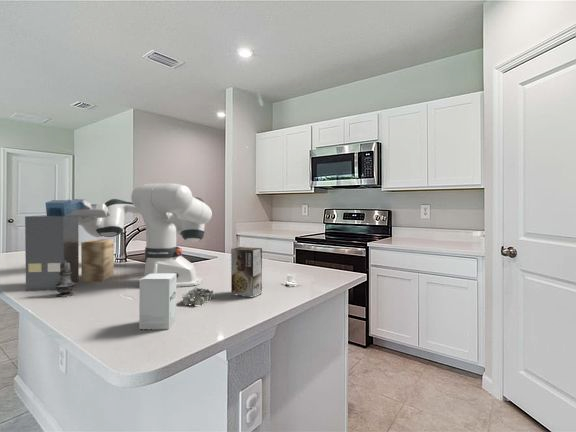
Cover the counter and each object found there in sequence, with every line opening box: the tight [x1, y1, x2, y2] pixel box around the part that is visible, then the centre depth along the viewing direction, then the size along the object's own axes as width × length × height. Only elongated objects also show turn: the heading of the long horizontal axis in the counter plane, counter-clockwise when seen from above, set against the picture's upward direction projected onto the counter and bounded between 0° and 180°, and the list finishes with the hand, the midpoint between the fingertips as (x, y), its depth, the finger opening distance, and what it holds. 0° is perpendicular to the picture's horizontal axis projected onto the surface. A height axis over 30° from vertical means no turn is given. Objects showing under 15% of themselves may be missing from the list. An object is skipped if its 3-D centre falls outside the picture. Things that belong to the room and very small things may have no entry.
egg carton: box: [181, 286, 214, 306], centre depth 105 cm, size 10×7×4 cm
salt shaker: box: [55, 260, 77, 298], centre depth 110 cm, size 6×6×12 cm
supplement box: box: [138, 273, 177, 331], centre depth 84 cm, size 7×7×13 cm
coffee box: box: [230, 246, 263, 297], centre depth 114 cm, size 9×6×16 cm
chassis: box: [24, 214, 80, 292], centre depth 121 cm, size 12×12×26 cm
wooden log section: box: [80, 238, 115, 283], centre depth 135 cm, size 8×12×16 cm, turn 11°
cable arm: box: [45, 198, 86, 216], centre depth 133 cm, size 6×22×5 cm, turn 11°
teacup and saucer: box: [285, 273, 296, 285], centre depth 130 cm, size 9×8×4 cm
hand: (75, 201), depth 139 cm, fingers closed on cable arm, 4 cm apart
